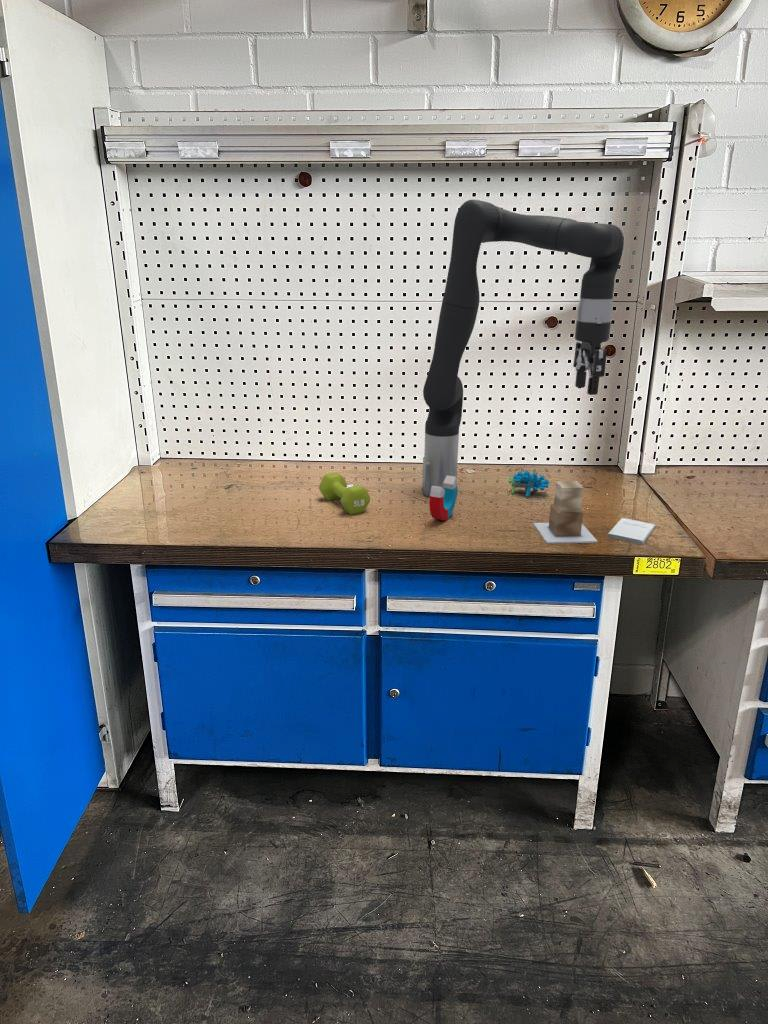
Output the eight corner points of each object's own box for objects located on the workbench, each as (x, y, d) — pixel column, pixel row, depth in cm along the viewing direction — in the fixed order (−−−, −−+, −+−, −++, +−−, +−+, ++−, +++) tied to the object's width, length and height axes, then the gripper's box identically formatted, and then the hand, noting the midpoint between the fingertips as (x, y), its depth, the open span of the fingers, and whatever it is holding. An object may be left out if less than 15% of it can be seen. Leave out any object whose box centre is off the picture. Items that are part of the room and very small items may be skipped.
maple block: (559, 512, 163) (562, 487, 160) (553, 504, 167) (556, 481, 165) (580, 511, 163) (583, 487, 161) (574, 504, 168) (576, 480, 165)
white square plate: (546, 543, 161) (547, 541, 161) (533, 524, 172) (533, 522, 172) (597, 542, 162) (597, 541, 162) (580, 523, 173) (580, 522, 173)
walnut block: (555, 536, 164) (558, 512, 162) (548, 527, 170) (550, 504, 168) (580, 536, 165) (583, 512, 162) (572, 526, 170) (575, 503, 168)
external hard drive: (606, 539, 165) (620, 523, 175) (642, 547, 161) (654, 530, 171) (607, 533, 165) (621, 517, 175) (643, 540, 161) (655, 523, 171)
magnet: (446, 510, 181) (448, 474, 178) (456, 512, 180) (458, 475, 177) (428, 525, 172) (429, 487, 168) (438, 527, 170) (440, 488, 167)
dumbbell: (317, 499, 189) (316, 474, 187) (343, 494, 193) (342, 469, 190) (345, 518, 176) (344, 491, 173) (372, 512, 180) (372, 486, 177)
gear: (554, 487, 194) (544, 469, 187) (549, 505, 192) (539, 488, 185) (516, 485, 200) (505, 468, 193) (512, 503, 198) (500, 486, 191)
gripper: (567, 316, 163) (561, 385, 169) (588, 322, 150) (580, 397, 155) (599, 316, 163) (591, 385, 169) (622, 322, 150) (612, 396, 156)
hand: (585, 390), depth 162 cm, fingers open, 8 cm apart
